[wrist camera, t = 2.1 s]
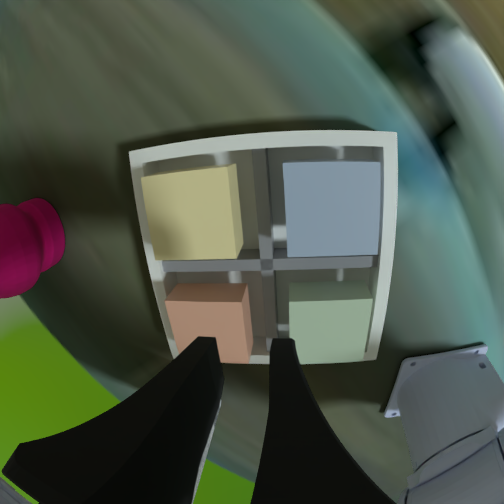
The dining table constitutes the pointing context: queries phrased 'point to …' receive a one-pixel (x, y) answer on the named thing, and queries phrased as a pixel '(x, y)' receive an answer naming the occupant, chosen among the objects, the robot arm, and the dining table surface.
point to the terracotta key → (212, 317)
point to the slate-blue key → (332, 207)
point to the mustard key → (194, 213)
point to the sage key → (329, 320)
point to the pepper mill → (28, 244)
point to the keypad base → (274, 225)
